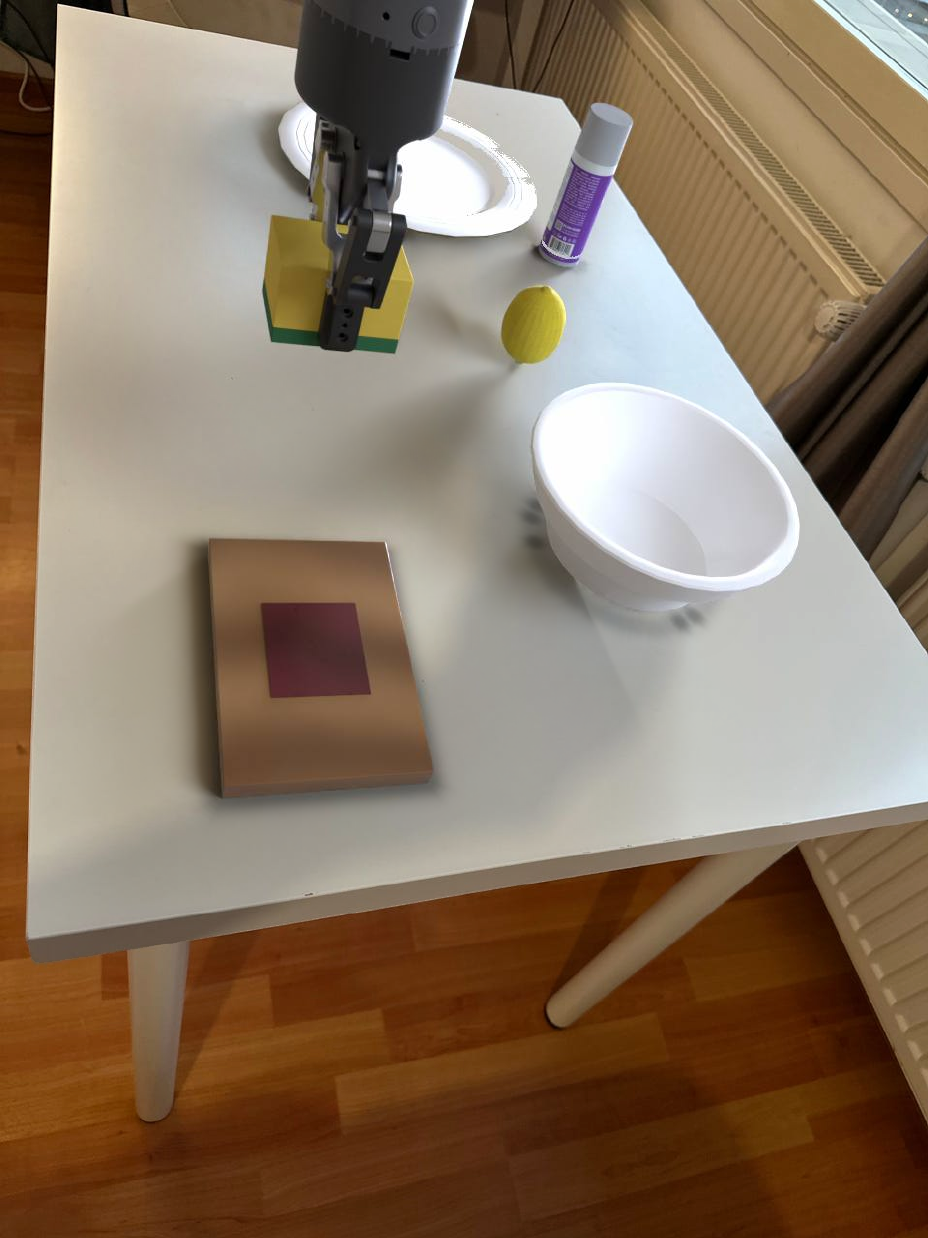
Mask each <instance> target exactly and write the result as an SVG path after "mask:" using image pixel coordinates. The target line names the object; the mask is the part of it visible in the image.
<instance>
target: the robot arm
mask: <svg viewBox="0 0 928 1238" xmlns="http://www.w3.org/2000/svg"><path fill="white" fill-rule="evenodd" d="M473 4H474V0H303V2H302V11H301V18H300V19H301V20H300V26H299V27H300V28H299V35H298V42H297V50H296V59H295V66H294V73H293V74H294V75H293V80H294V86H295V88H296V92H297V94H298V95H299V97H300V98H301V100H302V102H305V103H306V104H307V105H308V106H309V107H310V108H311V109H312V110H313V111H314V112H315V113H316V120H315V130H314V140H313V149H312V159H311V169H310V178H309V181H308V186H307V187H306V196H307V201H308V203H310V204H312V207H311V211H310V212H309V216H308V220H312V221H319V222H323V224H322V235H321V238H322V242H323V243H324V244H325V246H326V247H327V248H328V249H329V260H328V270H327V278H326V279H325V288H326V290H325V296H324V301H323V307H322V312H321V318H320V324H319V329H318V335H317V338H318V342H319V346H320V347H319V348H320V349H321V350H324V351H330V352H341V353H351V352H353V351H355V350H354V349H355V348H356V344H357V340H358V335H359V331H360V326H361V322H362V317H363V313H364V308H365V307H368V308H371V309H380V307H381V305H382V302H383V299H384V296H385V293H386V290H387V287H388V284H389V281H390V278H391V275H392V272H393V269H394V266H395V263H396V260H397V258H398V255H399V252H400V249H401V246H402V247H403V243H404V240H405V237H406V234H407V231H408V230H407V223H406V216H405V215H404V214H397V213H393V209H394V203H395V202H396V201H397V200H398V198H399V196H400V191H401V183H402V174H403V170H402V165H401V164H398V152H399V150H400V149H401V148H402V147H403V146H405V145H406V144H409V143H411V142H414V141H417V140H418V141H421V140H424V139H427V138H429V137H431V136H432V135H434V134H435V133H436V132H437V131H438V130H439V128H440V127H441V125H442V123H443V119H444V115H445V116H446V111H447V107H448V103H449V99H450V95H451V92H452V87H453V83H454V79H455V75H456V72H457V67H458V64H459V59H460V56H461V51H462V48H463V43H464V39H465V35H466V31H467V28H468V23H469V20H470V16H471V12H472V8H473ZM337 224H339V225H346V226H348V229H349V230H348V234H344V233H339V232H338V231H337Z"/></svg>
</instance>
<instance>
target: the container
mask: <svg viewBox="0 0 928 1238" xmlns="http://www.w3.org/2000/svg"><path fill="white" fill-rule="evenodd" d="M633 124H634V119H633V118H632V116H631V115H630V114H628V113H627V112H626V111H624V110H623V109H622V108H619V107H617V106H615V105H612V104H609V103H604V102H593V103H591V105H590V107H589V109H588V113H587V115H586V117H585V120H584V123H583V124H582V125H583V126H582V128H581V131H580V132H579V135H578V138H577V141H576V143H575V145H574V148H573V151H572V153H571V156H570V158H569V162H568V165H567V167H566V170H565V172H564V175H563V178H562V181H561V184H560V187H559V189H558V193H557V196H556V198H555V200H554V204H553V206H552V209H551V212H550V215H549V217H548V221H547V223H546V226H545V229H544V232H543V234H542V237H543V241H544V242H545V244H546V245H547V247H549V248H550V249H552V250H553V251H555V252H556V253H559V254H561V255H564V256H567V257H572V256H573V257H575V256H578V255H580V254H581V253H582V254H583V252H584V250H585V247H586V245H587V242H588V240H589V237H590V235H591V232H592V230H593V227H594V226H595V222H596V219H597V217H598V215H599V213H600V210H601V207H602V205H603V202H604V200H605V198H606V195H607V193H608V190H609V189H610V186H611V183H612V180H613V178H614V175H615V172H616V169H617V168H618V165H619V162H620V160H621V156H622V153H623V151H624V149H625V145H626V143H627V140H628V138H629V135H630V132H631V130H632V127H633ZM538 252H539V254H540V255H541V257H542V258H543V259H544V260H546V261H547V262H549V263H551V264H552V265H554V266H559V267H563V268H573V267H576V266H577V265H578V264H579V262H580V260H581V257H582V255H581V256H580V257H579V258H577V259H565V258H562V257H559V256H556V255H554V254H552V253H551V252H549V251H548V250H547V249H546V248H545V247H544V246H543V244H542V239H541V240H540V243H539V246H538Z"/></svg>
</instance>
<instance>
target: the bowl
mask: <svg viewBox="0 0 928 1238" xmlns="http://www.w3.org/2000/svg"><path fill="white" fill-rule="evenodd" d="M530 452H531V453H530V454H531V461H532V462H531V463H532V471H533V480H534V485H535V492H536V497H537V500H538V503H539V505H540V508H541V509H542V512H543V515H544V517H545V518H546V522H545V523H546V524H545V526H546V532H547V538H548V541H549V543H550V546H551V548H552V550H553V553H554V554H555V556H556V557H557V559H558V560H559V562H560V563H561V565H562V566H563V568H565V570H566V571H567V572H568V573H569V574H570V575H571V576H572V577H573V578H574V580H576V581H578V582H579V583H580V584H581V585H582V586H583V587H585V588H586V589H587V590H589V591H591V592H592V593H593V594H595V595H597V596H599V597H600V598H602V599H604V600H606V601H609V602H611V603H613V604H616V605H618V606H621V607H624V608H627V609H631V610H635V611H642V612H649V613H657V612H658V613H659V612H669V611H674V610H676V609H680V608H683V607H684V606H686V605H688V604H692V603H693V604H694V603H696V604H697V603H710V602H714V601H719V600H722V599H726V598H729V597H732V596H734V595H737V594H740V593H742V592H745V591H749V590H750V589H753V588H756V587H759V586H761V585H764V584H765V583H766V582H767V583H768V581H770V580H772V579H774V578H776V577H777V576H778V575H780V574H781V573H782V572H783V571H784V570H785V568H786V567H788V565H789V564H790V563H791V562H792V561H793V558H794V555H795V553H796V550H797V549H798V545H799V536H800V525H801V524H800V519H799V514H798V508H797V504H796V502H795V500H794V498H793V495H792V493H791V491H790V488H789V486H788V485H787V483H786V481H785V480H784V478H783V476H782V475H781V473H780V472H779V470H778V469H777V467H776V466H775V465H774V463H772V461H771V460H770V459H769V458H768V456H766V455H765V453H764V452H763V451H762V450H761V449H760V448H759V447H758V446H757V445H756V444H754V442H752V441H751V440H750V439H749V438H748V437H747V436H746V435H745V434H744V433H743V432H741V431H740V430H739V429H737V428H735V426H733V425H731V423H729V422H727V421H726V420H724V419H723V418H721V417H720V416H718V415H716V414H714V413H713V412H711V411H709V410H707V409H706V408H704V407H702V406H700V405H698V404H696V403H695V402H692V401H689V400H687V399H686V398H685V399H684V398H682V397H680V396H678V395H675V394H672V393H669V392H665V391H662V390H660V389H656V388H653V387H648V386H643V385H638V384H632V383H623V382H622V383H621V382H620V383H619V382H600V383H599V382H598V383H591V384H584V385H581V386H578V387H575V388H571V389H568V390H566V391H565V392H563V393H561V394H559V395H557V396H556V397H554V398H553V399H552V400H550V401H549V402H548V404H547V405H545V407H544V408H542V410H541V411H540V412H539V414H538V415H537V417H536V420H535V422H534V424H533V427H532V429H531V440H530Z"/></svg>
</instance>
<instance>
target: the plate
mask: <svg viewBox="0 0 928 1238" xmlns="http://www.w3.org/2000/svg"><path fill="white" fill-rule="evenodd" d="M447 118H448V119H447ZM451 119H453V118H452V117H449V116H447V115H446V114H445V115H444V119H443V123H442V125H441V127H440V129H442V130H443V131H444V132H449V133H450V132H451V133H452V134H454V135H455V136H458V137H460V138H461V139H464V140H465V141H468V142H470V143H471V144H472V145H473V147H476V148H481V149H482V150H484V151H483V152H486V153H487V155H490V156H491V157H492V158H493V157H494V158H493V159H494V160H496V162H497V163H498V162H499V161H500V162H501V163H502V164H501V163H500V162H499V163H498V164H499V166H500V167H501V168H500V169H502V172H503V173H502V175H503V176H504V177H508V181H509V183H510V184H509V185H508V186H507V189H506V190H505V196H503V197H502V199H501V201H499V203H498V204H497V205H496V206H494V207H492V208H490V209H488V210H486V211H484V212H482V213H478V212H480V211H482V210H484V209H486V208H487V207H489V205H490V204H491V202H492V201H493V199H494V196H495V187H494V184H493V182H492V180H491V177H490V175H489V174H488V173H487V172H486V171H485V169H484V168H483V167H482V166H481V165H480V164H479V163H478V162H477V161H476V160H474V159H473V158H472V157H471V156H469V155H468V154H467V153H466V152H464V151H462V150H460V149H459V148H457V147H455V146H454V145H452V144H450V143H449V142H447V141H444V140H442V139H440V138H437V137H435V136H433V135H432V136H431V137H429V138H427V139H424V140H421V141H418V140H417V141H414V142H411V143H409V144H406V145H405V146H403V147H402V148H401V149H400V150H399V152H398V164H401V165H402V170H403V174H402V183H401V191H400V196H399V198H398V200H397V201H396V202H395V203H394V209H393V213H397V214H404V215H405V216H406V223H407V231H410V232H414V233H418V234H424V235H431V236H436V237H437V236H438V237H443V238H451V239H478V238H479V239H480V238H481V239H482V238H491V237H494V236H499V235H502V234H508V233H511V232H513V231H515V230H517V229H518V228H519V227H521V226H523V225H524V224H526V223H527V222H529V220H530V218H531V217H530V216H532V215H533V213H534V212H533V211H535V210H536V208H537V193H536V194H535V190H536V188H535V186H534V184H533V183H532V184H533V185H532V184H529V183H528V184H529V185H528V184H526V183H527V182H524V181H525V180H526V179H523V180H521V179H522V178H524V177H528V176H529V175H528V176H527V174H528V172H527V170H525V169H524V168H523V167H522V166H521V167H520V168H523V170H525V172H527V173H525V172H524V171H523V170H522V169H520V168H519V167H518V166H519V165H518V166H517V165H516V164H517V163H514V162H515V161H511V160H512V159H508V158H510V157H506V156H507V155H505V154H504V155H503V154H500V153H499V152H498V151H496V152H495V151H494V150H496V149H495V148H498V147H497V145H495V144H494V143H496V142H495V141H494V143H493V142H492V141H493V139H491V138H490V137H488V136H486V135H485V134H483V133H481V132H480V131H478V130H476V129H474V128H473V127H471V128H468V127H467V126H468V125H467V124H466V126H465V125H464V126H463V124H462V123H463V122H461V123H458V122H456V121H453V120H451ZM315 120H316V113H315V112H314V111H313V110H312V109H311V108H310V107H309V106H308V105H307V104H306V103H305V102H304V101H302V102H299V103H296V105H294V106H293V107H292V108H290V109H289V110H287V112H285V113H283V116H282V119H281V121H280V123H279V126H278V127H277V128H278V129H277V134H278V139H279V144H280V149H281V151H282V152H283V154H284V156H285V157H286V158H287V160H288V162H289V163H290V165H291V166H292V167H293V169H294V170H295V171H296V172H297V173H298V174H300V175H301V176H302V177H303V178H304V179H305V180H306V181H308V182H309V178H310V169H311V159H312V149H313V140H314V130H315ZM451 133H450V134H451ZM486 137H487V138H486ZM489 138H490V139H491V140H490V139H489ZM485 148H486V149H485ZM491 148H492V149H491ZM493 148H494V149H493ZM489 151H490V152H491V153H490V152H489ZM497 152H498V153H499V154H500V155H502V157H503V158H502V157H501V156H500V155H499V154H498V153H497ZM502 153H503V152H502ZM493 154H494V155H493ZM490 156H489V157H490ZM495 156H496V157H495ZM497 156H498V157H497ZM492 158H491V159H492ZM497 158H498V159H499V160H498V159H497ZM506 162H507V163H508V164H507V163H506ZM497 163H495V164H497ZM499 166H498V167H499ZM504 166H505V167H504ZM507 170H508V171H507ZM520 170H521V171H520ZM510 177H513V178H512V180H513V182H514V184H513V182H512V180H511V178H510ZM517 177H518V178H519V179H517ZM521 177H522V178H521ZM518 180H519V181H518ZM519 182H520V183H519ZM534 188H535V189H534ZM534 209H535V210H534ZM477 213H478V214H477ZM472 214H473V215H472ZM467 215H468V216H467Z"/></svg>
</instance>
